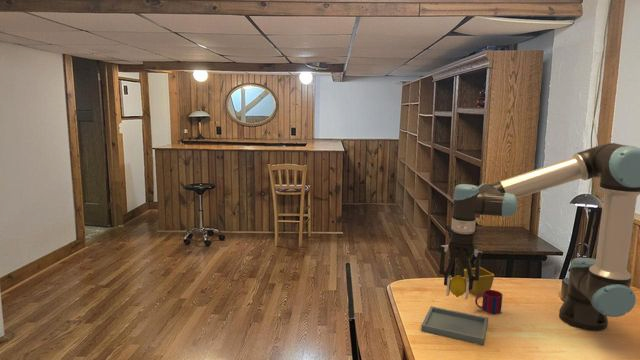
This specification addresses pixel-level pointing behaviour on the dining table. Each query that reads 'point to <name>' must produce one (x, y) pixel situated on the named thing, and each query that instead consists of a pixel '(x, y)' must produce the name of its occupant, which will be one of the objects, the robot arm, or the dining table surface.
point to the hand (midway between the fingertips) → (457, 296)
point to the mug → (491, 301)
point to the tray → (455, 325)
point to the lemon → (458, 285)
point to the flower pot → (480, 281)
